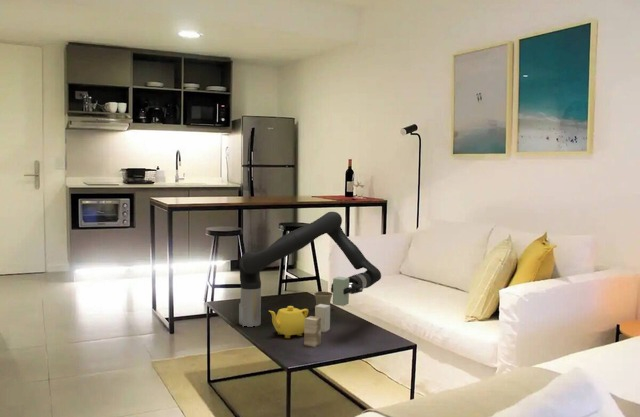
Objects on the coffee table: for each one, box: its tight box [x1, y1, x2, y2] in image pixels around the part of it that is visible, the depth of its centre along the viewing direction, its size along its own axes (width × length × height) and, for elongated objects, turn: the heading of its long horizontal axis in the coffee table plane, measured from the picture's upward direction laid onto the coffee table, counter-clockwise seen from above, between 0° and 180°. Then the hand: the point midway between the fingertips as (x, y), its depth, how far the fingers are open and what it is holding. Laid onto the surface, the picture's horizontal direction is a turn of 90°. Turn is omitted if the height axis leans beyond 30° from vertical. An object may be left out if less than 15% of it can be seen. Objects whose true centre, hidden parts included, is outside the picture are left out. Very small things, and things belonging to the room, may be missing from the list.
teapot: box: [268, 305, 309, 339], centre depth 243 cm, size 13×20×12 cm
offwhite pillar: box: [314, 304, 331, 333], centre depth 251 cm, size 5×5×11 cm
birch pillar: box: [303, 315, 322, 348], centre depth 230 cm, size 5×5×11 cm
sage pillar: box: [332, 276, 350, 307], centre depth 234 cm, size 5×5×11 cm
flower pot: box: [313, 291, 333, 306], centre depth 284 cm, size 9×9×9 cm
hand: (338, 291), depth 232 cm, fingers closed on sage pillar, 5 cm apart
